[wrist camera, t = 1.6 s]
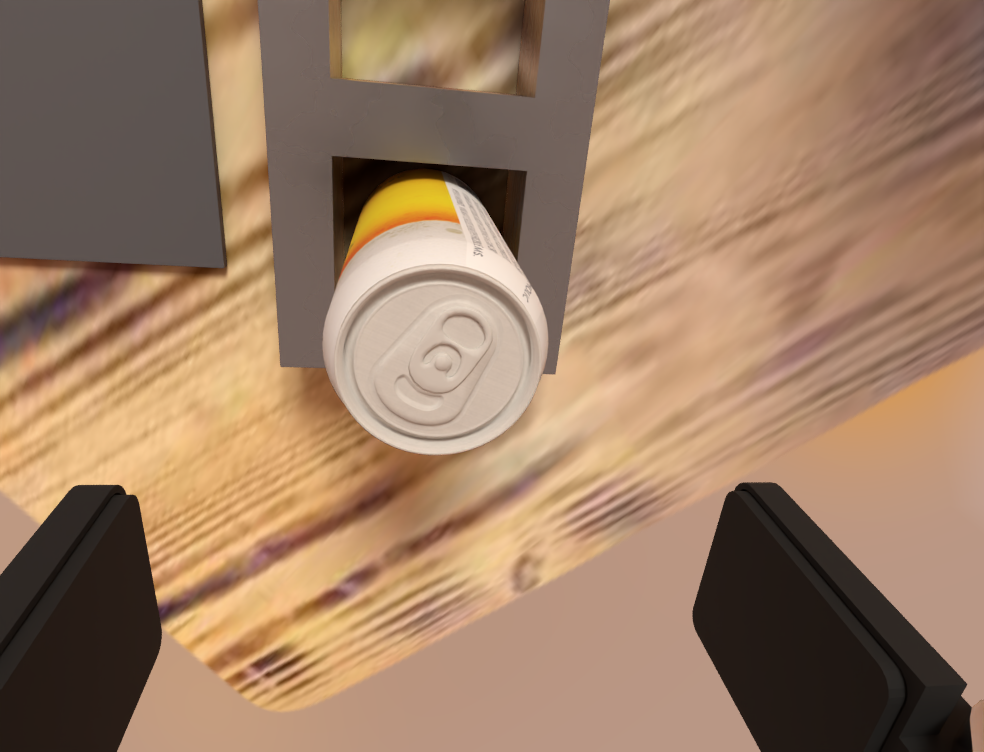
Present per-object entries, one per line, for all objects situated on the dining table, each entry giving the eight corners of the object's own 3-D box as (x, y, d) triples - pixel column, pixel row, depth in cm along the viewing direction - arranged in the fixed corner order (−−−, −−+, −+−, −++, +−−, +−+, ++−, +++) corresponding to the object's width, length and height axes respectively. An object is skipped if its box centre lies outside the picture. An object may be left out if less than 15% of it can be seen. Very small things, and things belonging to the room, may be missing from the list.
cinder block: (271, -201, 22) (241, -264, 18) (598, -149, 24) (638, -195, 20) (297, 328, 30) (280, 366, 26) (536, 337, 32) (555, 374, 28)
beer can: (334, 250, 29) (272, 401, 16) (404, 137, 27) (403, 197, 14) (441, 317, 31) (468, 501, 18) (513, 216, 29) (604, 335, 16)
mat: (-256, -169, 21) (-271, -175, 20) (191, -109, 23) (186, -113, 22) (-118, 247, 27) (-127, 250, 26) (226, 265, 29) (224, 268, 28)
